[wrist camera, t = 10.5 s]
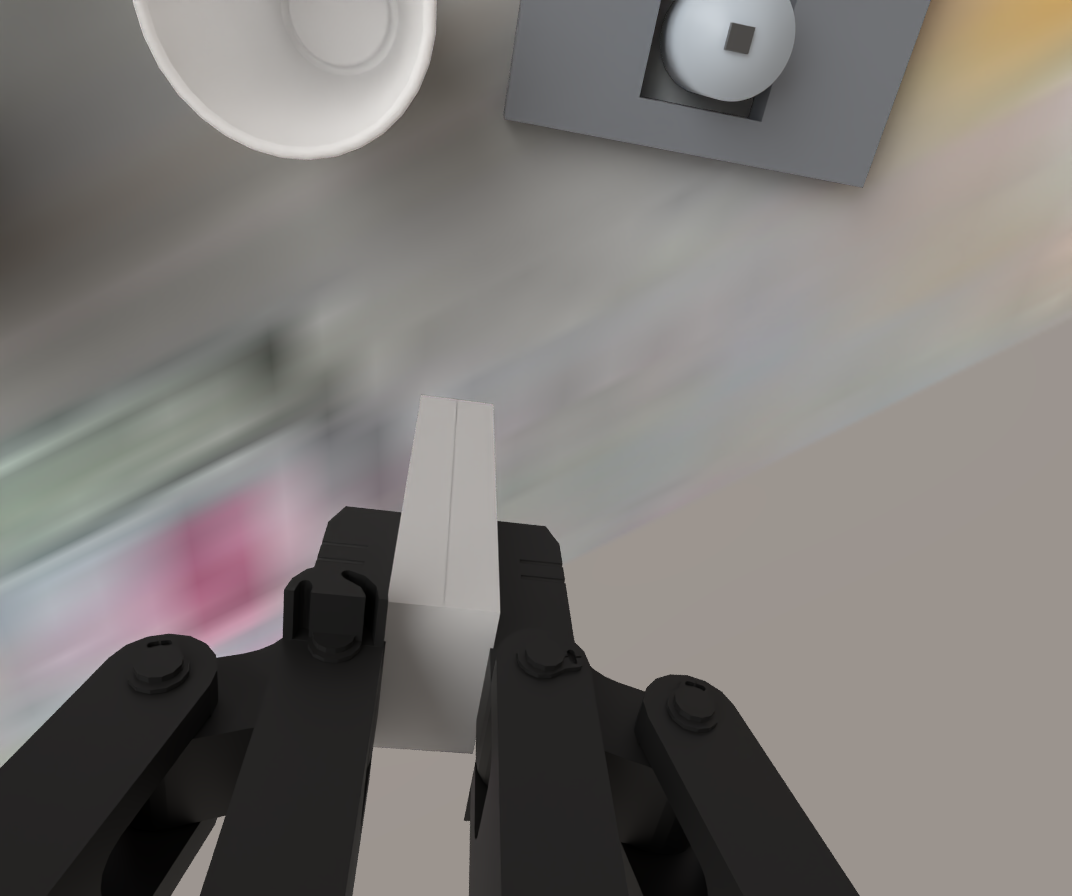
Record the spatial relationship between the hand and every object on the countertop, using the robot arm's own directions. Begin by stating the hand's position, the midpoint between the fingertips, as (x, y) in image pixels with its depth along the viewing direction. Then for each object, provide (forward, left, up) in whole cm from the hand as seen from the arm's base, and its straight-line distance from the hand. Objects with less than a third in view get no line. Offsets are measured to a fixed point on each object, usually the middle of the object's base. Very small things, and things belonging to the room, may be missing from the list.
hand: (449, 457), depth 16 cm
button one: (+10, +10, -26) cm, 29 cm away
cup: (-7, +8, -27) cm, 28 cm away
